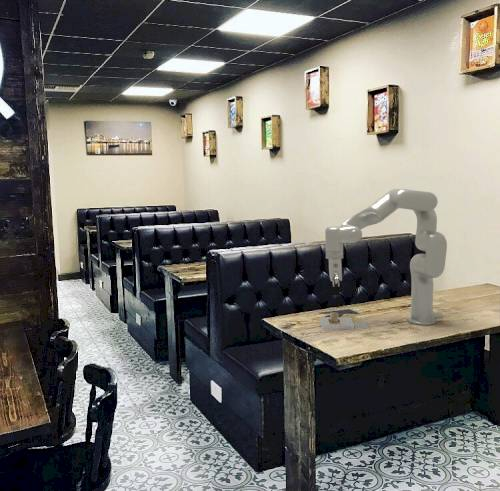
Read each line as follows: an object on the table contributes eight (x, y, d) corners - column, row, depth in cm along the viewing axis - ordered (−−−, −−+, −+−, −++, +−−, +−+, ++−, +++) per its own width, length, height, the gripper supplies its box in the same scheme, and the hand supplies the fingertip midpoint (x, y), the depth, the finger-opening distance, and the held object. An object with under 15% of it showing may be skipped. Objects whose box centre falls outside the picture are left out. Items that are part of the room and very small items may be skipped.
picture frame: (329, 324, 236) (367, 319, 243) (329, 318, 235) (367, 313, 243) (313, 316, 250) (349, 312, 258) (313, 310, 250) (349, 306, 257)
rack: (366, 324, 231) (366, 316, 230) (370, 332, 219) (370, 324, 218) (319, 324, 233) (319, 316, 232) (321, 332, 221) (321, 323, 220)
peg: (337, 327, 228) (337, 312, 227) (338, 329, 224) (338, 314, 223) (329, 327, 228) (329, 312, 227) (330, 329, 225) (330, 314, 224)
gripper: (345, 257, 213) (345, 297, 216) (341, 251, 231) (342, 288, 233) (327, 258, 214) (328, 297, 216) (324, 252, 231) (325, 289, 233)
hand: (335, 292), depth 224 cm, fingers open, 9 cm apart
